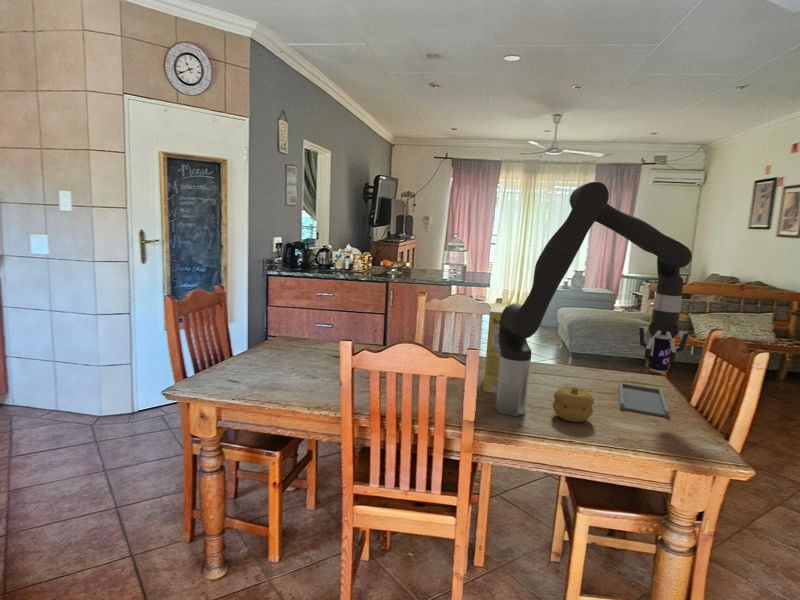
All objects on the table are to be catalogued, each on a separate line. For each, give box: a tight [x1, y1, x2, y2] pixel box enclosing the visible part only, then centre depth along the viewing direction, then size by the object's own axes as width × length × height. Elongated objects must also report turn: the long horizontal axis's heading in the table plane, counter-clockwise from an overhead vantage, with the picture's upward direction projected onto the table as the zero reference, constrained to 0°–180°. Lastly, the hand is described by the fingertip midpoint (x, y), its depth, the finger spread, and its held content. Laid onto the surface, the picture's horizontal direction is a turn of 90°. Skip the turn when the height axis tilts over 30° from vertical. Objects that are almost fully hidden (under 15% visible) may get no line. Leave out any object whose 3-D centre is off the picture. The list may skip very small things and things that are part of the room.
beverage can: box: [647, 334, 671, 374], centre depth 158 cm, size 6×6×12 cm
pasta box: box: [482, 302, 509, 394], centre depth 179 cm, size 18×10×28 cm, turn 167°
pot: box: [552, 386, 595, 423], centre depth 153 cm, size 12×12×10 cm
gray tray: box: [618, 382, 670, 418], centre depth 173 cm, size 24×14×2 cm, turn 158°
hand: (658, 361), depth 159 cm, fingers closed on beverage can, 5 cm apart
